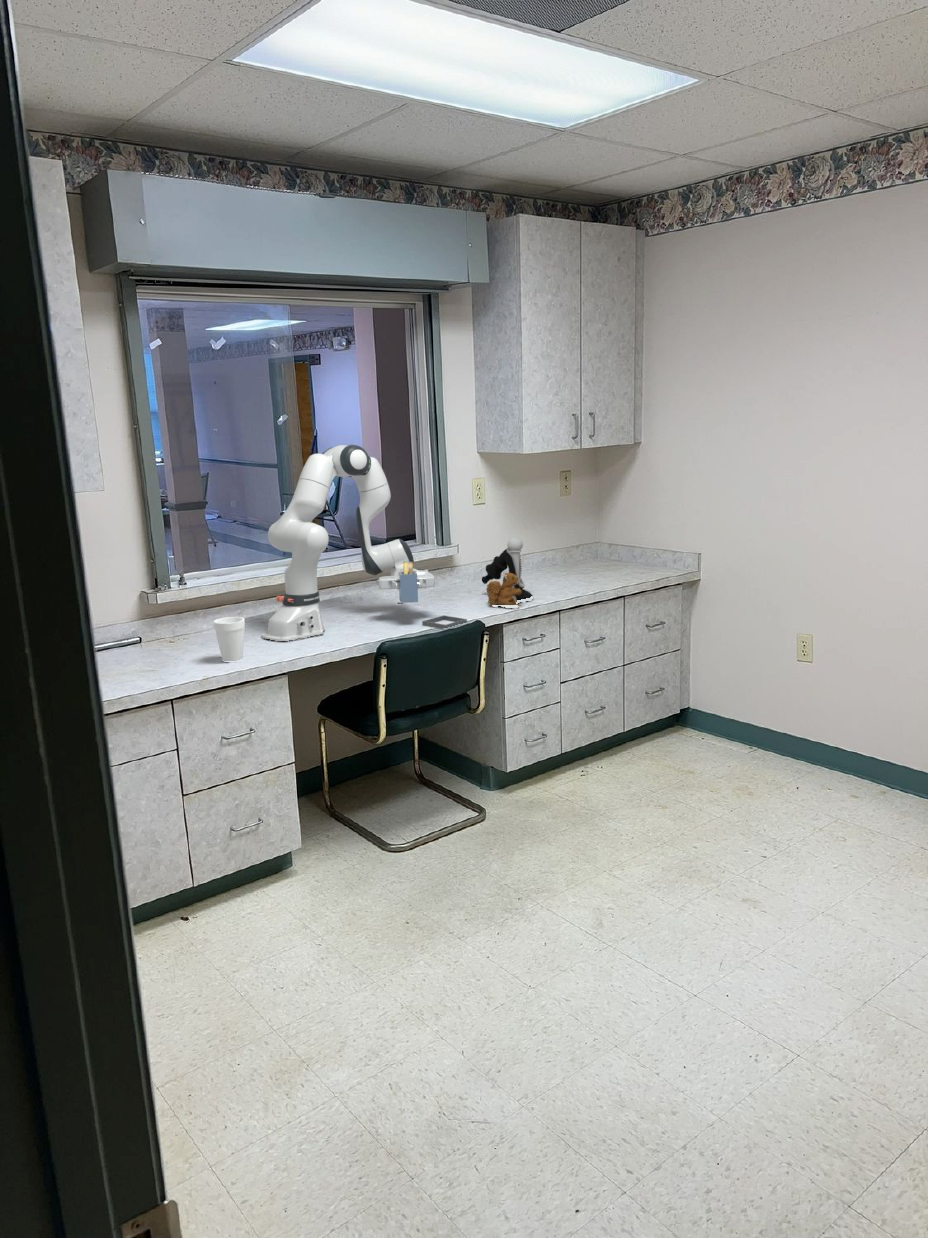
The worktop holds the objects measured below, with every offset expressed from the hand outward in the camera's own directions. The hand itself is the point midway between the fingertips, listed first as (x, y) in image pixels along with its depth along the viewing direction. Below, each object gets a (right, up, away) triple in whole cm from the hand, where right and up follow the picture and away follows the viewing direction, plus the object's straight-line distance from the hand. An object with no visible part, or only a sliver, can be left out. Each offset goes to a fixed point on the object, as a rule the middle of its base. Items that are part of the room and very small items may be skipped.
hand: (408, 585), depth 324 cm
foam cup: (-53, -25, -33) cm, 68 cm away
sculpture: (+36, -4, +48) cm, 60 cm away
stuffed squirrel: (+35, -7, +33) cm, 48 cm away
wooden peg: (+1, -4, +2) cm, 5 cm away
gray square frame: (+13, -14, +3) cm, 19 cm away
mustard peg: (-1, -5, +1) cm, 5 cm away
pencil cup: (0, -5, +2) cm, 6 cm away
